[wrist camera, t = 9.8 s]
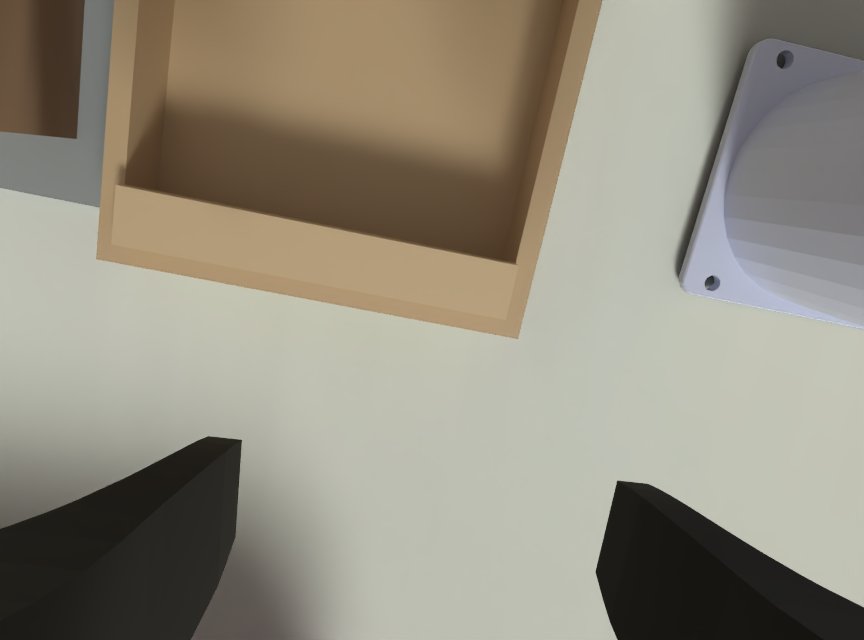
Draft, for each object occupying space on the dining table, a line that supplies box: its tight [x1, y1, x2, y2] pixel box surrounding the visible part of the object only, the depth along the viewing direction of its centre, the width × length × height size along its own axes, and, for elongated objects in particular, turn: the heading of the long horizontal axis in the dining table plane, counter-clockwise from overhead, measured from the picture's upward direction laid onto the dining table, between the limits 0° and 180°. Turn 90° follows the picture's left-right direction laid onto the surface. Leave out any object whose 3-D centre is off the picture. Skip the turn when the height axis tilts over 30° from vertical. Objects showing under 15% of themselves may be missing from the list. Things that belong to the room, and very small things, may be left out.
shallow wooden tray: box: [96, 0, 602, 339], centre depth 16 cm, size 12×14×3 cm
